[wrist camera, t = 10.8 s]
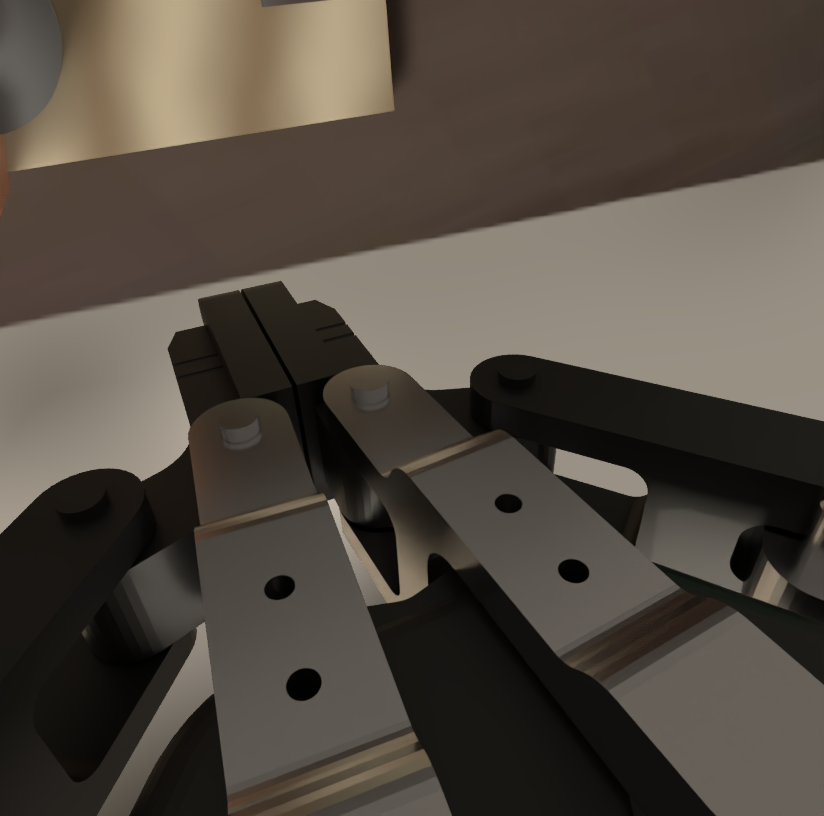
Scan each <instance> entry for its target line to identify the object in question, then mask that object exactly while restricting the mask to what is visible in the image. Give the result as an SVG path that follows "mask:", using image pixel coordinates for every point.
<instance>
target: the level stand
mask: <svg viewBox="0 0 824 816" xmlns="http://www.w3.org/2000/svg"><path fill="white" fill-rule="evenodd" d="M51 1H52V3H53V5H54V8H55V10H56V13H57V15H58V19H59V22H60V26H61V30H62V37H63V62H62V68H61V72H60V76H59V80H58V84H57V87H56V89H55V91H54V94H53V96H52V98H51V99H50V101H49V102H48V104H47V105H46V107H45V108H44V109H43V110H42V111H41V112H40V114H39V115H38V116H37V117H35V118H34V119H33V120H31V121H30V122H29V123H28V124H26V125H24V126H22V127H20V128H18V129H17V130H14V131H11V132H8V133H6V134H3V139H4V146H5V154H6V162H7V170H8V172H12V171H18V170H24V169H30V168H37V167H43V166H49V165H56V164H62V163H68V162H75V161H81V160H87V159H93V158H100V157H106V156H112V155H119V154H125V153H131V152H137V151H144V150H150V149H156V148H163V147H169V146H175V145H182V144H188V143H194V142H200V141H207V140H213V139H219V138H226V137H232V136H238V135H245V134H251V133H257V132H263V131H270V130H276V129H282V128H289V127H295V126H301V125H308V124H314V123H320V122H326V121H333V120H339V119H345V118H352V117H358V116H364V115H371V114H377V113H383V112H389V111H394V101H393V88H392V75H391V62H390V49H389V36H388V23H387V10H386V0H51Z"/></svg>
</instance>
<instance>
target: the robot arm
mask: <svg viewBox="0 0 824 816" xmlns="http://www.w3.org/2000/svg"><path fill="white" fill-rule="evenodd" d="M198 302H199V307H200V311H201V316H202V319H203V323H204V326H200V327H196V328H192V329H187V330H183V331H179V332H176V333H175V335H174V337H173V339H172V341H171V343H170V345H169V347H168V352H169V355H170V358H171V361H172V365H173V369H174V372H175V375H176V379H177V382H178V385H179V389H180V393H181V396H182V399H183V402H184V406H185V410H186V413H187V416H188V419H189V423H190V430H189V433H188V440H189V445H188V447H187V448H186V450H185V451H184V452H183V454H182V455H181V456H180V457H179V458H178V459H177V460H176V461H175V462H174V463H172V464H171V465H170V466H168V467H167V468H165V469H164V470H162V471H161V472H159V473H157V474H155V475H153V476H151V477H150V478H147V479H145V480H144V481H142V482H141V481H140V479H139V478H138V477H136V476H135V475H134V474H132V473H130V472H127V471H124V470H120V469H96V470H90V471H86V472H82V473H79V474H77V475H73V476H70V477H68V478H66V479H64V480H62V481H60V482H58V483H56V484H55V485H53V486H51V487H50V488H48V489H47V490H46V491H44V492H43V493H42V494H41V495H39V497H37V498H36V499H35V500H34V501H33V502H32V503H31V504H30V505H29V506H28V507H27V508H26V509H25V510H24V511H23V512H22V513H21V514H20V515H19V516H18V517H17V518H16V519H15V520H14V521H13V522H12V523H11V524H10V525H9V526H8V527H7V528H6V529H5V530H4V531H3V532H2V533H1V534H0V816H97V814H98V812H99V811H100V809H101V807H102V805H103V804H104V802H105V800H106V799H107V797H108V795H109V793H110V792H111V790H112V788H113V786H114V784H115V783H116V781H117V779H118V778H119V776H120V774H121V772H122V771H123V769H124V767H125V765H126V764H127V762H128V760H129V758H130V757H131V755H132V753H133V752H134V750H135V748H136V746H137V745H138V743H139V741H140V739H141V738H142V736H143V734H144V732H145V731H146V729H147V727H148V725H149V724H150V722H151V720H152V718H153V717H154V715H155V713H156V712H157V710H158V708H159V706H160V705H161V703H162V701H163V699H164V698H165V696H166V694H167V692H168V691H169V689H170V687H171V685H172V684H173V682H174V680H175V678H176V677H177V675H178V673H179V671H180V670H181V668H182V666H183V665H184V663H185V661H186V659H187V658H188V656H189V654H190V652H191V650H192V648H193V646H194V644H195V640H196V633H197V629H196V627H198V626H199V625H200V624H202V623H203V622H205V624H206V632H207V640H208V648H209V656H210V664H211V672H212V680H213V688H214V694H212V695H211V696H210V697H209V698H208V699H207V700H206V701H205V702H204V703H203V704H202V705H201V706H200V707H199V708H198V709H197V710H196V711H195V712H194V713H193V714H192V715H191V716H190V717H189V718H188V719H187V721H186V722H185V723H184V724H183V726H182V727H181V728H180V729H179V731H178V732H177V733H176V734H175V735H174V737H173V738H172V740H171V741H170V743H169V744H168V746H167V747H166V749H165V750H164V752H163V753H162V755H161V756H160V758H159V760H158V761H157V763H156V764H155V766H154V768H153V770H152V772H151V774H150V775H149V777H148V779H147V781H146V783H145V785H144V787H143V789H142V791H141V793H140V795H139V797H138V799H137V801H136V803H135V805H134V807H133V809H132V811H131V813H130V815H129V816H824V421H819V420H815V419H810V418H806V417H801V416H797V415H792V414H788V413H783V412H779V411H774V410H770V409H765V408H761V407H756V406H752V405H748V404H743V403H738V402H734V401H729V400H725V399H721V398H716V397H712V396H707V395H703V394H698V393H693V392H689V391H684V390H680V389H676V388H671V387H667V386H662V385H658V384H653V383H649V382H644V381H640V380H635V379H631V378H626V377H622V376H617V375H613V374H608V373H604V372H599V371H595V370H590V369H586V368H581V367H577V366H572V365H568V364H563V363H559V362H554V361H550V360H545V359H541V358H536V357H532V356H526V355H501V356H496V357H493V358H490V359H487V360H485V361H483V362H481V363H480V364H478V365H477V366H476V367H475V368H474V369H473V371H472V373H471V376H470V388H460V389H447V390H424V389H423V388H422V387H421V386H420V385H419V384H418V383H417V382H416V381H415V380H414V379H413V378H412V377H411V376H410V375H409V374H407V373H406V372H404V371H402V370H400V369H397V368H395V367H390V366H385V365H379V364H378V363H377V362H376V360H375V359H374V358H373V357H372V355H371V354H370V353H369V352H368V350H367V349H366V348H365V347H364V345H363V344H362V343H361V341H360V340H359V339H358V338H357V336H356V335H355V336H354V333H353V332H352V330H351V329H350V328H349V327H348V325H346V324H345V321H344V320H343V319H342V317H341V316H340V315H339V314H338V313H337V311H336V310H335V309H334V308H331V307H329V306H327V305H325V304H323V303H321V302H318V301H316V300H313V301H308V302H304V303H300V304H297V303H296V301H295V300H294V298H293V297H292V296H291V294H290V293H289V291H288V290H287V288H286V287H285V286H284V284H283V283H282V282H281V281H279V282H274V283H269V284H264V285H260V286H255V287H251V288H246V289H242V290H241V293H240V291H239V290H237V291H233V292H228V293H223V294H219V295H214V296H210V297H205V298H201V299H198ZM556 448H557V449H561V450H565V451H568V452H572V453H575V454H579V455H583V456H586V457H590V458H594V459H598V460H601V461H605V462H608V463H612V464H615V465H619V466H623V467H626V468H629V469H631V470H633V471H635V472H636V473H638V474H639V475H640V476H641V477H642V478H643V479H644V481H645V483H646V485H647V488H648V494H647V495H645V496H641V497H632V496H627V495H624V494H620V493H617V492H614V491H610V490H607V489H604V488H600V487H596V486H593V485H590V484H586V483H583V482H579V481H576V480H572V479H569V478H566V477H563V476H559V475H556V474H553V471H554V463H555V454H556ZM333 498H334V499H335V500H336V502H337V504H338V506H339V510H340V516H341V523H342V529H343V533H344V535H345V537H346V539H347V540H348V542H349V543H350V545H351V547H352V548H353V550H354V551H355V553H356V554H357V556H358V558H359V559H360V561H361V562H362V564H363V565H364V567H365V569H366V570H367V572H368V574H369V575H370V577H371V578H372V580H373V581H374V583H375V585H376V586H377V588H378V589H379V591H380V593H381V594H382V595H383V597H384V599H385V601H386V602H387V603H386V604H380V605H374V606H366V603H365V601H364V598H363V595H362V593H361V590H360V587H359V585H358V582H357V579H356V577H355V574H354V572H353V569H352V566H351V563H350V561H349V558H348V555H347V553H346V550H345V547H344V545H343V542H342V539H341V537H340V534H339V531H338V528H337V526H336V523H335V520H334V518H333V515H332V513H331V510H330V507H329V504H328V502H327V501H328V500H331V499H333Z"/></svg>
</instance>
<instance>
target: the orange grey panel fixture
mask: <svg viewBox="0 0 824 816" xmlns="http://www.w3.org/2000/svg"><path fill="white" fill-rule="evenodd" d="M62 62H63V37H62V30H61V26H60V22H59V19H58V15H57V13H56V10H55V8H54V5H53V3H52V1H51V0H0V216H1V214H2V211H3V208H4V205H5V202H6V199H7V196H8V193H9V190H10V186H9V178H8V170H7V162H6V154H5V146H4V139H3V134H6V133H8V132H11V131H14V130H17V129H18V128H20V127H22V126H24V125H26V124H28V123H29V122H30V121H31V120H33V119H34V118H35V117H37V116H38V115H39V114H40V112H41V111H42V110H43V109H44V108H45V107H46V105H47V104H48V102H49V101H50V99H51V98H52V96H53V94H54V91H55V89H56V87H57V84H58V80H59V76H60V72H61V68H62Z"/></svg>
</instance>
